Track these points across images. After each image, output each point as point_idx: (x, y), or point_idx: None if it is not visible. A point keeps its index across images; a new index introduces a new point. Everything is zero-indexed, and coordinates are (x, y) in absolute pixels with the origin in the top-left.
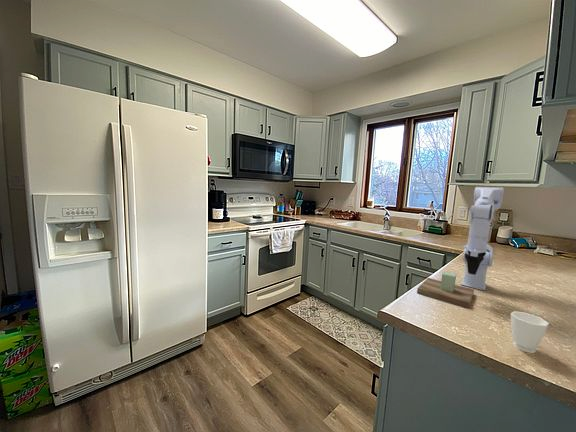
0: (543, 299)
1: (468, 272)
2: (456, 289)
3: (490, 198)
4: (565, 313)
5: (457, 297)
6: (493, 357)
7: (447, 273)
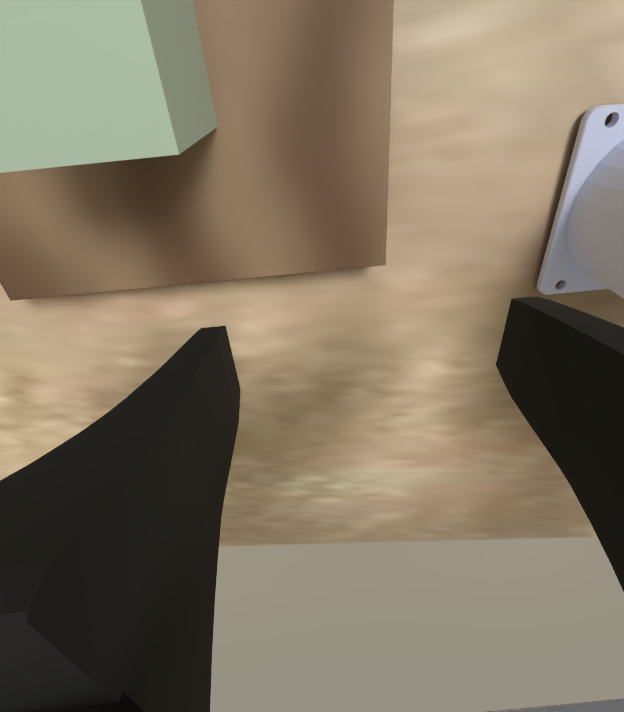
0: None
1: (194, 335)
2: (231, 147)
3: None
4: (443, 531)
5: (13, 211)
6: None
7: (39, 7)
